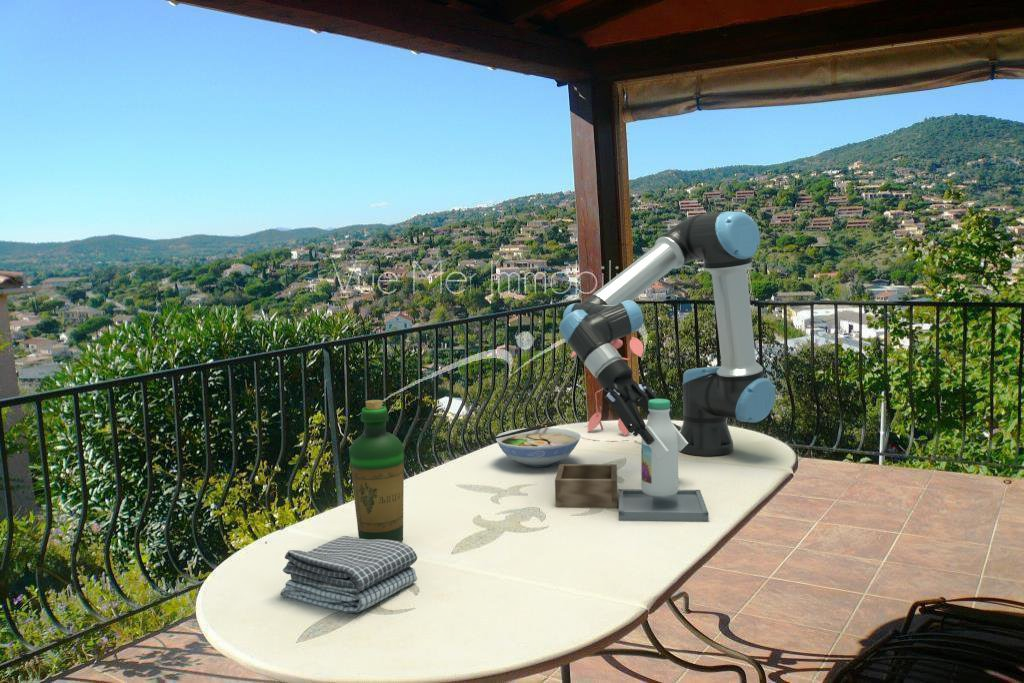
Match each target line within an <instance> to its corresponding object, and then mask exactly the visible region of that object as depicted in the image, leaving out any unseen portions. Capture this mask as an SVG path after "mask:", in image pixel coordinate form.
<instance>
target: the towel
mask: <svg viewBox="0 0 1024 683" xmlns="http://www.w3.org/2000/svg"><path fill="white" fill-rule="evenodd" d="M284 559H286V560H287V561H288V562H287V563H286V565H285V566H284V568H283V569H282V572H283V573H284V574H286V575H290V579H288V580H287V581H286V582H285V586H284V587H283V588H282V589H281V590H280V593H279V594H280V596H281V598H283V599H288V600H292V601H296V602H299V603H303V604H307V605H312V606H315V607H319V608H323V609H328V610H331V611H336V612H340V613H345V614H355V613H356V614H357V613H359V612H361V611H364V610H366V609H369V608H371V607H372V606H375V605H376V604H378V603H379V602H382V601H383V600H384V599H387V598H388V597H391V596H392V595H394V594H395V593H397V592H399V591H401V590H402V589H403V590H404V588H407V587H408V586H410V585H412V584H413V583H415V582H417V580H418V577H417V574H416V569H415V568H414V567H411V566H412V565H414V564H415V562H416V561H417V560H418V555H417V553H416V552H415V551H414V549H413V548H412V547H411V546H409V545H408V544H406V543H404V542H403V541H401V542H400V541H395V540H394V541H393V540H385V539H384V540H383V539H374V540H373V539H370V540H368V539H362V538H359V537H353V536H348V535H343V536H340V537H337V538H336V539H333V540H331V541H328V542H326V543H323V544H321V545H319V546H318V547H316V548H313V549H312V550H309V551H307V552H306V551H303V550H297V549H296V550H295V549H289V550H288V551H287V552H286V554H285V556H284Z"/></svg>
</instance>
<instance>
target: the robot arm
mask: <svg viewBox="0 0 1024 683" xmlns="http://www.w3.org/2000/svg"><path fill="white" fill-rule="evenodd" d="M760 233H761V232H760V230H759V226H758V225H757V222H756V221H755V220H754V219H753V218H752V217H751V216H750V215H749V214H747V213H745V212H743V211H730V210H729V211H721V212H714V213H713V212H712V213H702V214H701V213H700V214H695V215H691V216H690V217H688V218H685V219H684V220H681V221H680V222H679V223H677V224H675V225H674V226H672V228H670V229H669V230H667V231H666V232H665V233H663V234H662V235H661V236H659V237H658V238H656V241H655V243H654V246H653V247H652V248H650V249H649V250H647V251H646V252H645V253H644V254H642V255H641V256H640V257H638V259H636V260H635V261H634V262H632V263H631V264H630V265H629V266H627V267H626V268H625V269H624V270H622V271H621V272H619V273H618V274H617V275H616V276H614V277H613V278H612V279H611V280H609V281H608V282H607V283H606V284H604V285H603V286H602V287H600V288H599V289H597V290H596V292H594V293H593V294H592V295H590V296H589V297H587V298H586V299H585V300H584V301H582V302H575V303H571V304H570V305H568V306H566V308H565V309H564V311H563V314H562V320H561V321H560V324H559V326H558V327H559V328H558V329H559V333H560V334H561V335H562V337H563V339H564V340H565V342H566V344H567V345H568V346H569V347H570V348H571V349H572V351H574V352H575V353H576V354H577V355H576V356H577V357H578V358H579V359H580V361H581V362H582V363H583V364H584V365H585V367H586V368H587V369H588V371H589V372H590V373H591V374H592V375H591V376H593V378H596V381H597V383H598V384H599V385H600V387H601V389H603V391H604V392H606V393H607V394H606V395H605V396H604V399H605V400H606V402H607V403H608V404H609V405H611V407H612V409H613V410H614V411H615V413H616V414H617V416H618V419H619V418H620V419H621V421H622V422H623V424H624V425H625V427H626V428H627V430H628V431H629V433H630V434H632V435H633V436H634V437H637V436H640V437H641V439H642V438H643V439H644V441H645V442H646V444H648V446H649V447H650V448H651V450H652V451H653V452H654V453H655V455H656V456H657V457H658V459H660V458H662V457H663V456H664V455H665V454H666V453H667V452H668V451H669V450H668V449H667V448H666V446H665V445H664V444H663V443H662V441H661V440H660V439H659V438H658V436H657V435H656V434H655V432H654V431H653V430H652V429H651V427H650V426H648V427H647V428H645V427H646V422H645V421H644V417H642V415H641V412H640V410H639V408H638V407H640V408H641V410H643V412H645V413H646V414H648V415H649V410H648V409H649V407H648V401H649V400H651V399H660V398H659V397H658V396H657V395H656V393H655V392H654V391H652V389H651V388H650V386H649V384H648V383H647V382H645V381H643V382H642V383H641V384H639V383H638V382H637V381H636V380H634V379H633V369H632V368H631V367H630V366H629V365H628V363H627V362H626V360H623V359H621V358H622V355H621V354H620V353H619V351H618V350H617V349H616V350H617V351H618V352H617V351H616V350H615V348H614V347H613V346H612V345H611V342H613V341H615V340H617V339H619V340H621V338H624V337H627V336H628V335H632V334H633V333H635V332H636V331H638V330H639V329H641V328H642V326H643V325H644V314H643V311H642V309H641V307H640V306H639V305H638V303H636V302H635V301H634V300H635V299H636V298H638V297H640V295H642V294H643V293H644V292H646V291H647V289H649V288H651V287H652V286H653V285H654V284H655V283H656V282H658V281H659V280H660V279H662V278H663V277H664V276H666V275H667V274H668V273H669V272H671V271H672V270H678V269H680V268H682V267H683V266H684V265H686V264H688V263H689V262H693V261H697V260H703V263H704V265H703V266H704V269H705V271H707V272H709V273H710V274H711V275H710V276H711V279H712V281H711V282H712V289H713V290H712V291H713V297H714V298H713V299H714V306H715V316H716V325H717V334H718V342H719V350H720V351H719V353H720V361H721V362H720V363H721V365H720V366H719V365H718V366H706V367H696V368H690V369H686V370H685V371H684V373H683V376H682V377H683V378H682V383H681V384H682V409H683V410H682V412H683V415H682V416H683V421H682V426H681V430H680V432H679V431H678V429H677V428H676V427H675V426H674V424H675V423H674V422H672V425H673V427H674V429H675V431H676V435H677V440H678V452H681V453H683V454H686V455H689V456H690V455H693V456H697V457H698V456H703V457H717V456H724V455H730V454H731V453H732V452H734V441H733V438H732V435H731V432H730V429H729V425H728V421H727V419H732V420H736V421H739V422H741V423H742V422H743V423H759V422H761V421H763V420H764V419H765V418H767V417H768V416H769V414H770V413H771V411H772V410H773V408H774V405H775V401H776V389H775V388H776V387H775V386H774V383H772V382H771V381H770V380H769V379H767V378H765V376H764V368H763V366H762V365H761V364H760V363H758V362H757V360H756V359H757V358H756V349H755V339H754V329H753V319H752V318H753V317H752V311H751V310H752V308H751V301H750V300H751V299H750V292H749V290H750V289H749V282H748V281H749V280H748V272H747V271H748V269H749V268H750V267H751V265H752V264H753V259H752V258H753V256H754V255H755V254H756V253H757V251H758V250H759V249H758V248H759V246H760V243H761V234H760ZM669 416H670V419H671V420H672V418H673V416H674V413H673V412H672V411H671V410H670V411H669ZM673 423H674V424H673Z"/></svg>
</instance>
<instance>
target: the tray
mask: <svg viewBox="0 0 1024 683" xmlns="http://www.w3.org/2000/svg"><path fill="white" fill-rule="evenodd" d="M705 502H706V501H705V500H704V497H703V494H702V491H701V489H678V492H677V494H675V495H672V496H666V497H657V496H650V495H647V494H645V493H643V491H642V488H641V489H640V488H639V489H633V488H625V489H624V488H618V521H635V522H636V521H643V522H646V521H647V522H709V510H708V508H707V506H706V503H705Z"/></svg>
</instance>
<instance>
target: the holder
mask: <svg viewBox="0 0 1024 683" xmlns="http://www.w3.org/2000/svg"><path fill="white" fill-rule="evenodd" d="M617 466H618V465H617V464H614V463H613V464H605V463H604V464H603V463H602V464H600V463H599V464H597V463H595V464H593V463H592V464H591V463H590V464H587V463H586V464H583V463H582V464H581V463H578V464H577V463H570V464H569V463H568V464H567V463H566V464H565V463H559V465H558V468H557V471H556V476H555V478H554V493H555V494H554V496H555V508H602V509H603V508H606V509H608V508H609V509H610V508H613V509H614V508H617V509H618V467H617Z"/></svg>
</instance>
